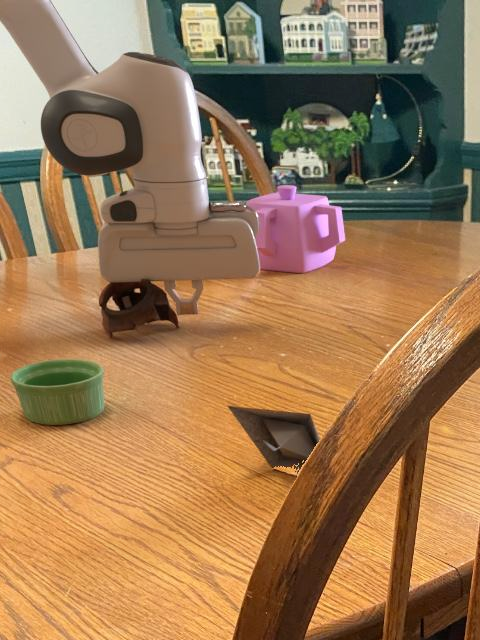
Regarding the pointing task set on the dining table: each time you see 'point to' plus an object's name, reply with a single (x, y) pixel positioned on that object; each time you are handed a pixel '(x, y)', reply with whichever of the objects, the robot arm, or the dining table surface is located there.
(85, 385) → the ramekin
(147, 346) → the dining table surface
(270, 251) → the teakettle
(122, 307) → the brown hollow shell
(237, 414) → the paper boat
